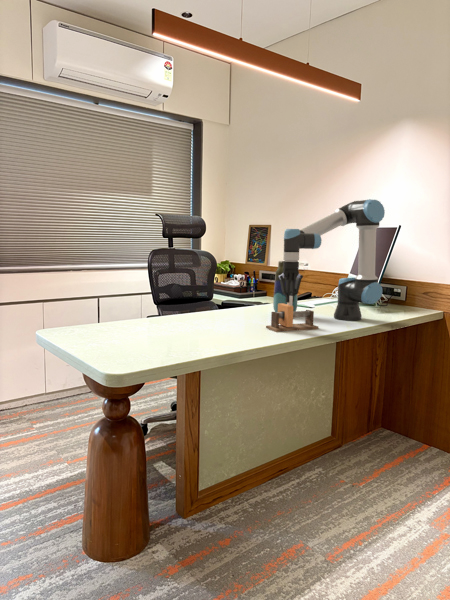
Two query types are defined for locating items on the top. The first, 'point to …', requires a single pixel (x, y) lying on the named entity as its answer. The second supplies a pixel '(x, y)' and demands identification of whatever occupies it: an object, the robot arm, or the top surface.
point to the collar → (286, 315)
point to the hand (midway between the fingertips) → (289, 308)
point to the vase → (278, 294)
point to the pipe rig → (302, 326)
